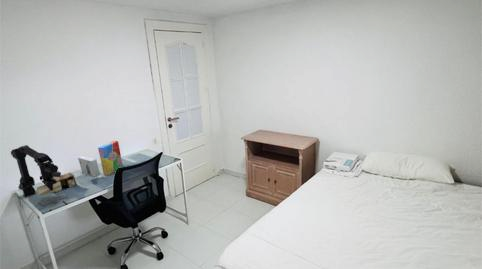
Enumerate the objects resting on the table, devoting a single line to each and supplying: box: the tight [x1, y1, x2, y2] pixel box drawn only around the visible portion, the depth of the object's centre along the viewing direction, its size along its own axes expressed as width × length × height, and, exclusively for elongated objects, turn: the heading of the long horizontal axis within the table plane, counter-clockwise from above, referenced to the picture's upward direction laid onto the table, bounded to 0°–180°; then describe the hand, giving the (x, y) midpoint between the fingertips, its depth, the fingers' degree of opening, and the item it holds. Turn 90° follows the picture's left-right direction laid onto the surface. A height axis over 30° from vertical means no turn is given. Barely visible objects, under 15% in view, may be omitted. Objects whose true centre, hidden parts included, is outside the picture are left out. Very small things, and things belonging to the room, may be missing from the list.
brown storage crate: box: [52, 172, 77, 194], centre depth 206 cm, size 16×9×9 cm, turn 141°
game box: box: [97, 140, 124, 176], centre depth 233 cm, size 21×6×27 cm, turn 168°
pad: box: [39, 192, 68, 206], centre depth 189 cm, size 16×7×1 cm, turn 141°
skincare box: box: [77, 155, 101, 177], centre depth 230 cm, size 21×5×16 cm, turn 62°
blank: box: [35, 181, 63, 197], centre depth 186 cm, size 4×14×6 cm, turn 137°
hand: (50, 189), depth 187 cm, fingers closed on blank, 4 cm apart
